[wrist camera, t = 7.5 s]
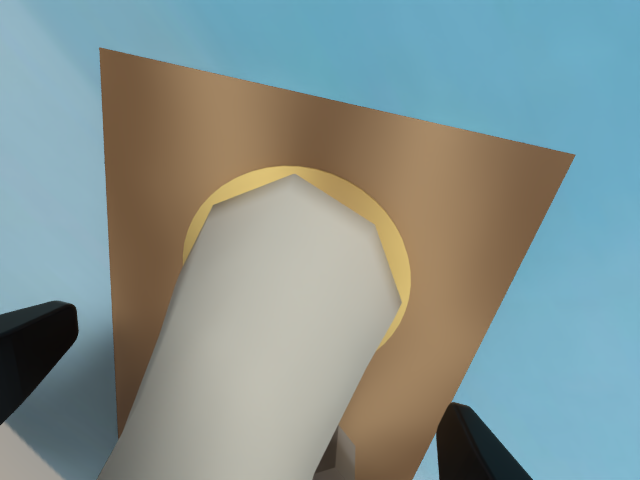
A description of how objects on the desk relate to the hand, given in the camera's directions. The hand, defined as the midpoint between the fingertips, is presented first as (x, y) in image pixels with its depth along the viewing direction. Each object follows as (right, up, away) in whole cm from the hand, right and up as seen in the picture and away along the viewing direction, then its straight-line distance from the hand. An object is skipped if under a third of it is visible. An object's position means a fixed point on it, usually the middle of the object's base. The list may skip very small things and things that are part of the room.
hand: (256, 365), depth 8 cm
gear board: (0, -2, +7) cm, 7 cm away
